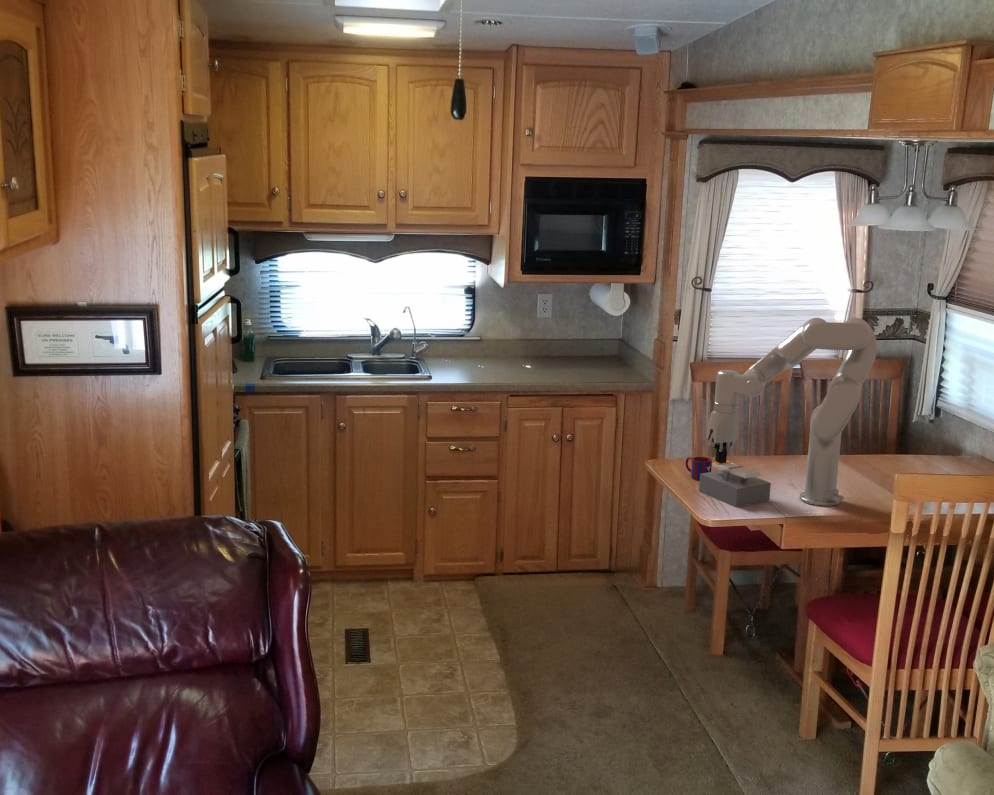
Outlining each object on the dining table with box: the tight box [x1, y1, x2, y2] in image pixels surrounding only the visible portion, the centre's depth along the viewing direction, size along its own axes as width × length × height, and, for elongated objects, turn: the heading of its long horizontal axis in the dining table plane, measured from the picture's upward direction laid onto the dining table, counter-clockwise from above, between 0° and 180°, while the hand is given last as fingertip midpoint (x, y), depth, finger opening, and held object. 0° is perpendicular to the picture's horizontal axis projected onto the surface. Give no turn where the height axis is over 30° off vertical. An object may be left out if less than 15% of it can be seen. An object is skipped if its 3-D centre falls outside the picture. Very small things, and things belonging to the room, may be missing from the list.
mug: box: [685, 456, 713, 482], centre depth 353 cm, size 7×10×7 cm
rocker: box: [712, 460, 761, 478], centre depth 332 cm, size 16×6×2 cm, turn 28°
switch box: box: [698, 469, 772, 508], centre depth 333 cm, size 18×14×9 cm
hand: (720, 461), depth 337 cm, fingers closed
